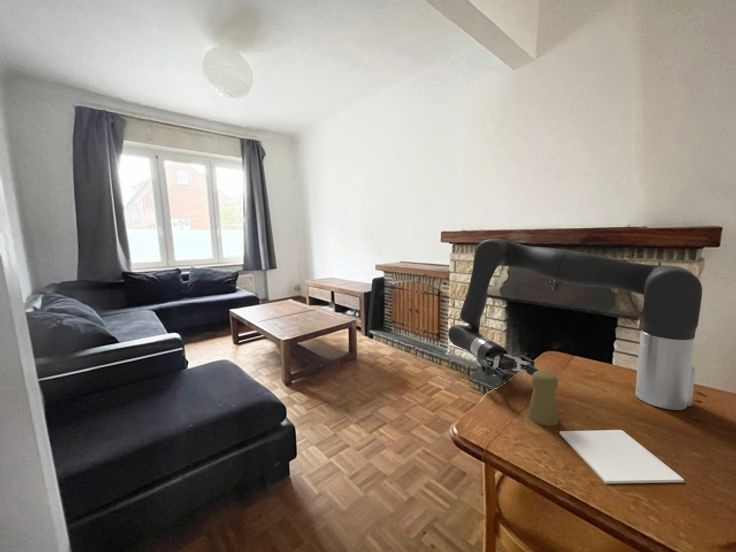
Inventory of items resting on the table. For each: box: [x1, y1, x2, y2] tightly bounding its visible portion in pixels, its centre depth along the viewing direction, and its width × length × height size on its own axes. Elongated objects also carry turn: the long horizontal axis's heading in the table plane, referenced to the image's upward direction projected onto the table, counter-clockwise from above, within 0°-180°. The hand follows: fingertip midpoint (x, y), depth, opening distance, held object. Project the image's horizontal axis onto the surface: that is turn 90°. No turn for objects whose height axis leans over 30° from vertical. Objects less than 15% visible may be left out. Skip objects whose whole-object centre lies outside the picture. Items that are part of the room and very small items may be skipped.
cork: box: [527, 370, 559, 427], centre depth 69 cm, size 6×6×11 cm
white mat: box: [559, 429, 685, 484], centre depth 58 cm, size 13×13×1 cm
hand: (522, 376), depth 76 cm, fingers open, 8 cm apart
